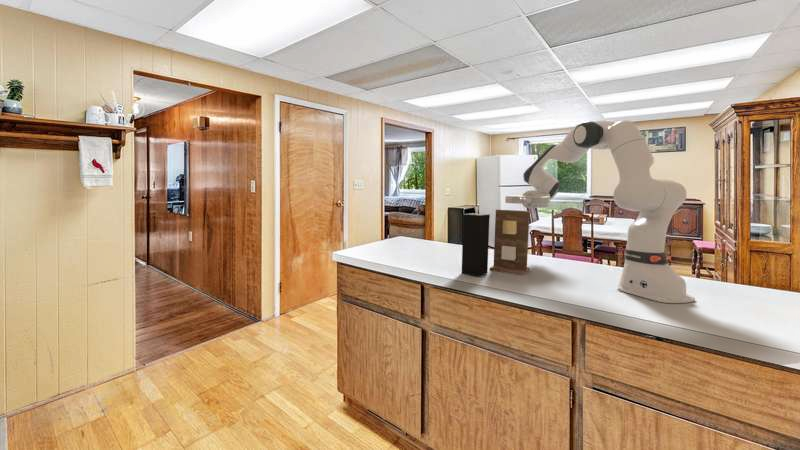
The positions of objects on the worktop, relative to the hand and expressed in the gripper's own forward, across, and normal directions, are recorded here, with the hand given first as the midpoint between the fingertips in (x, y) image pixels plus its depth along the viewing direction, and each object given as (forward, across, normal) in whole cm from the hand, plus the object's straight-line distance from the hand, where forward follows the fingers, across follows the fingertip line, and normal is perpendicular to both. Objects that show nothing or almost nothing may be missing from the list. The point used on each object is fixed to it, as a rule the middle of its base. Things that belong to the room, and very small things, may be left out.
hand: (523, 200), depth 165 cm
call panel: (+16, 0, +30) cm, 34 cm away
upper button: (+15, 0, +13) cm, 20 cm away
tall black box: (+30, -10, +30) cm, 43 cm away
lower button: (+15, 0, +24) cm, 29 cm away
